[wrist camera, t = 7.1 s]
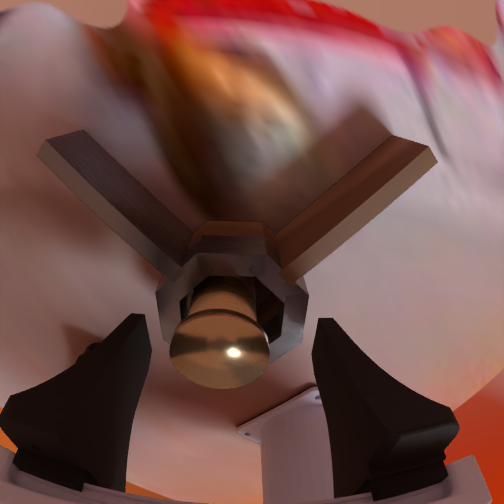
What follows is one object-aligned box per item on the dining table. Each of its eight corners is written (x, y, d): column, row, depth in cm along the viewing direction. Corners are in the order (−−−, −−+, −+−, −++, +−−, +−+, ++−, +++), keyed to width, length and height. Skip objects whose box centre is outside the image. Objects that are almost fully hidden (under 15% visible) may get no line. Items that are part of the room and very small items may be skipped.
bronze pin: (260, 305, 18) (267, 388, 13) (193, 305, 18) (176, 387, 12) (262, 244, 16) (272, 318, 11) (187, 244, 16) (162, 317, 11)
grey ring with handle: (319, 280, 17) (334, 319, 14) (233, 343, 19) (232, 386, 16) (119, 84, 12) (85, 82, 9) (48, 182, 14) (10, 204, 11)
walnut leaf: (427, 190, 15) (463, 212, 12) (233, 343, 19) (232, 386, 16) (357, 88, 13) (388, 86, 10) (149, 276, 17) (131, 315, 14)
